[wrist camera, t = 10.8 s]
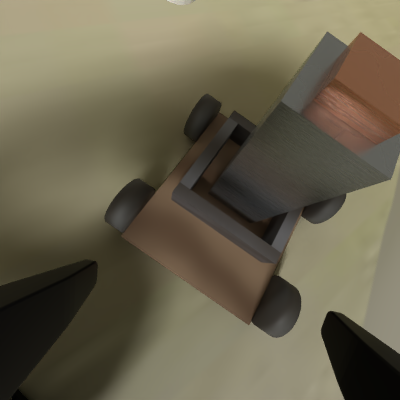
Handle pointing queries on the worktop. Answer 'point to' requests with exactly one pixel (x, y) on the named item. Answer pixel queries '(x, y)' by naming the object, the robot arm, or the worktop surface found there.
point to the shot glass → (181, 2)
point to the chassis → (216, 227)
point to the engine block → (320, 133)
